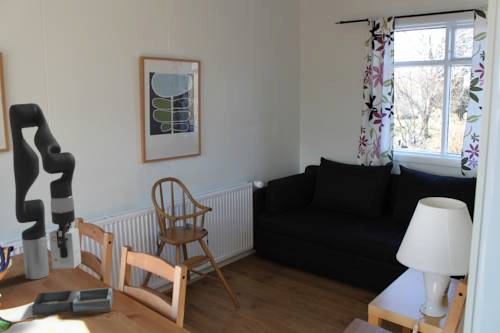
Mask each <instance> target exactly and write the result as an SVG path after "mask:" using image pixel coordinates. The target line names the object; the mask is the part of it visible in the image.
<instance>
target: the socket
mask: <svg viewBox="0 0 500 333" xmlns="http://www.w3.org/2000/svg"><path fill="white" fill-rule="evenodd" d="M75 296H76V292H75V289H69V290H68V289H65V290H57V291H56V290H55V291H46V292H39V293H38V294H37V296H36V297H35V300H34V302H33V303H32V305H31V312H32V313H31V314H32V316H42V315H50V314H51V315H52V314H61V313H68V312H69V313H70V312H71V311H72V310H73V301H74V298H75Z"/></svg>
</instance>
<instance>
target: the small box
mask: <svg viewBox="0 0 500 333" xmlns="http://www.w3.org/2000/svg"><path fill="white" fill-rule="evenodd" d="M57 229H58V228H56V229H54V230H53V231H51V232H49V233H48V234H49V245H50V255H51V257H50V258H51V268H52V269H56V270H58V269H76V267H77V266H79V265H80V264H81V263H82V256H81V255H82V254H81V252H82V251H81V242H80V230H79V228H78V227H77V228H71V230H70V231H69V232H66V233H65V238H68V240H67V255H68V256H67V258H61V256H60V248H58V247H57V234H56V232H57ZM61 244H63V241H61Z"/></svg>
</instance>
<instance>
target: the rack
mask: <svg viewBox="0 0 500 333" xmlns="http://www.w3.org/2000/svg"><path fill="white" fill-rule="evenodd" d="M113 303H114V293H113V287H112V286H111V287H110V286H108V287H100V288H89V289H81V290H80V289H79V290H77V291H76V292H75V298H74V301H73V306H72V316H73V317H74V316H82V315H92V314H93V315H94V314H101V313H109V312H112V309H113Z"/></svg>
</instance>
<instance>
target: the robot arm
mask: <svg viewBox="0 0 500 333" xmlns="http://www.w3.org/2000/svg"><path fill="white" fill-rule="evenodd" d="M8 113H9V114H8V116H9V126H10V132H11V133H10V134H11V138H12V140H11V141H12V158H13V161H12V163H13V164H12V165H13V174H14V175H13V176H14V186H15V203H14V204H15V205H14V206H15V218H16V220H17V223H19V224H27V223H28V224H29V223H32V222H35V223H34V224H33V225H31V226H30V227H28V228H25V229H24V230H23V231H22V232H21V241H22V252H23V262H24V263H23V264H24V272H25V273H24V274H25V279H28V280H38V279H39V280H40V279H42V278H45V277H48V276H49V274H50V266H49V256H48V255H49V254H48V242H47V233H46V216H45V214H46V213H45V212H46V211H45V204H44V201H43V199H41V198H40V199H39V198H36V199H29V200H26V197H27V194H28V192H29V191H30V189H31V187H32V186H33V185H34V184H35V182H36V180H37V178H38V177H39V175H40V160H39V159H40V158H39V155H38V154H37V153H36V151H35V150H34V149H33V148H32V146H31V145H30V144H29V143H28V142H27V140H26V139H25V137H24V135H23V129H28V128H29V129H30V128H36V127H37V129H36V131H35V133H34V136H33V142H34V147H35V148H36V150H37V151H38V153H39V154H40V157H41V162H42V163H41V165H42V169H43V171H45V172H46V173H47V174H50V175H57V174H61V176H60V177H59V178H57V179H55V180H52V181H51V182H50V183H49V191H50V192H49V193H50V213H51V214H50V215H51V223H52V224H54V225H58V228H56V229H57V232H56V234H57V247H58V248H60V256H61V258H67V256H68V255H67V240H68V238H65V233H66V232H69V231H70V230H71V228H72V227H73V226H72V223H74V222H75V221H76V217H75V216H76V215H75V214H76V213H75V204H74V198H73V187H72V186H73V185H72V184H73V179H74V178H73V177H74V173H75V168H76V157H75V156H74V155H73V154H72V153H71V152H69V151H67V152H62V147H61V146H60V144H59V143H58V141H57V139H56V138H55V137H54V135H53V134H52V131H51V129H50V126H49V124H48V121H47V119H46V116H45V115H44V112H43V110H42V108H41V107H40V105H38V104H37V103H32V102H31V103H18V104H17V103H16V104H11V105H10V107H9V110H8ZM61 241H63V244H61Z"/></svg>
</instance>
